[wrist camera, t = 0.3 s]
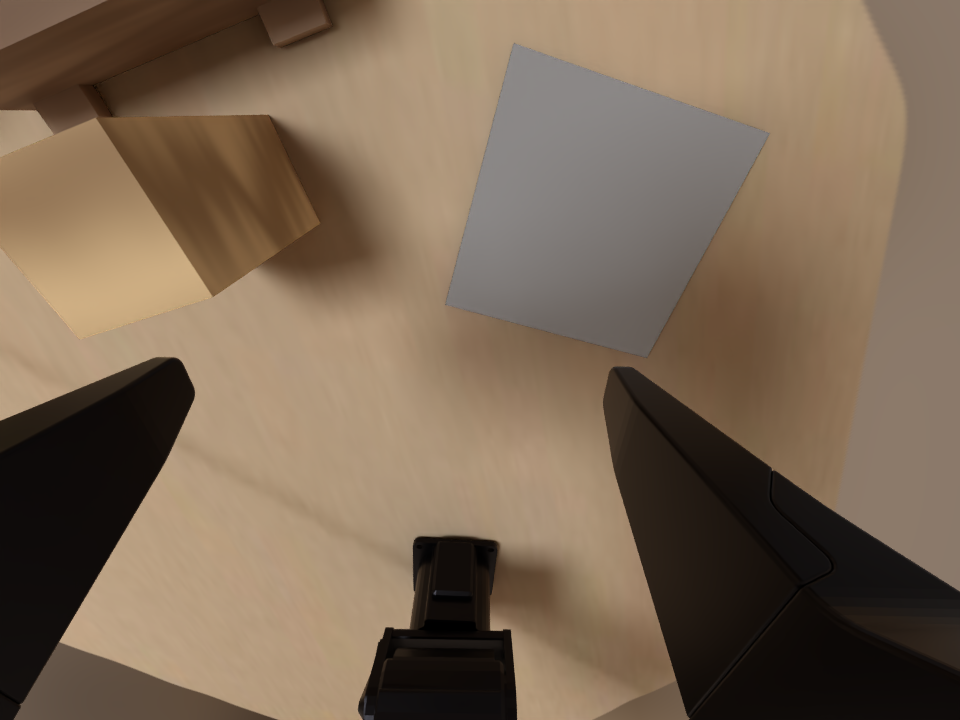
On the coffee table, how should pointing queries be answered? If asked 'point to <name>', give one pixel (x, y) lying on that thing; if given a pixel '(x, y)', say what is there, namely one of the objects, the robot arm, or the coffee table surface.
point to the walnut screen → (117, 44)
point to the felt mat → (594, 203)
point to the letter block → (147, 213)
